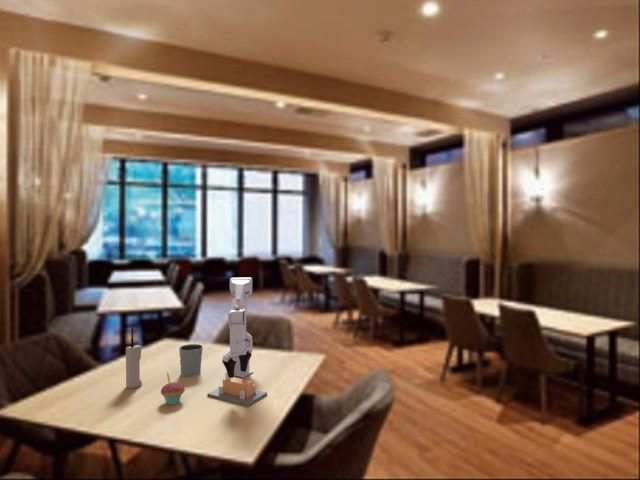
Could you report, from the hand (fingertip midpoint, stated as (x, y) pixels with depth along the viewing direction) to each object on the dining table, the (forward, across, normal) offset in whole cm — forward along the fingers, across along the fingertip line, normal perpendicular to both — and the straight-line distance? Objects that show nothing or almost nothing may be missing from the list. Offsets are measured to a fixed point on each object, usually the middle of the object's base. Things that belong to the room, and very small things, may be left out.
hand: (237, 374), depth 159 cm
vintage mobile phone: (+9, -13, +44) cm, 47 cm away
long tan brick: (+7, 0, 0) cm, 7 cm away
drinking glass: (+9, +10, +35) cm, 37 cm away
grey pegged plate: (+8, 0, 0) cm, 8 cm away
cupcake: (+9, -16, +18) cm, 26 cm away
